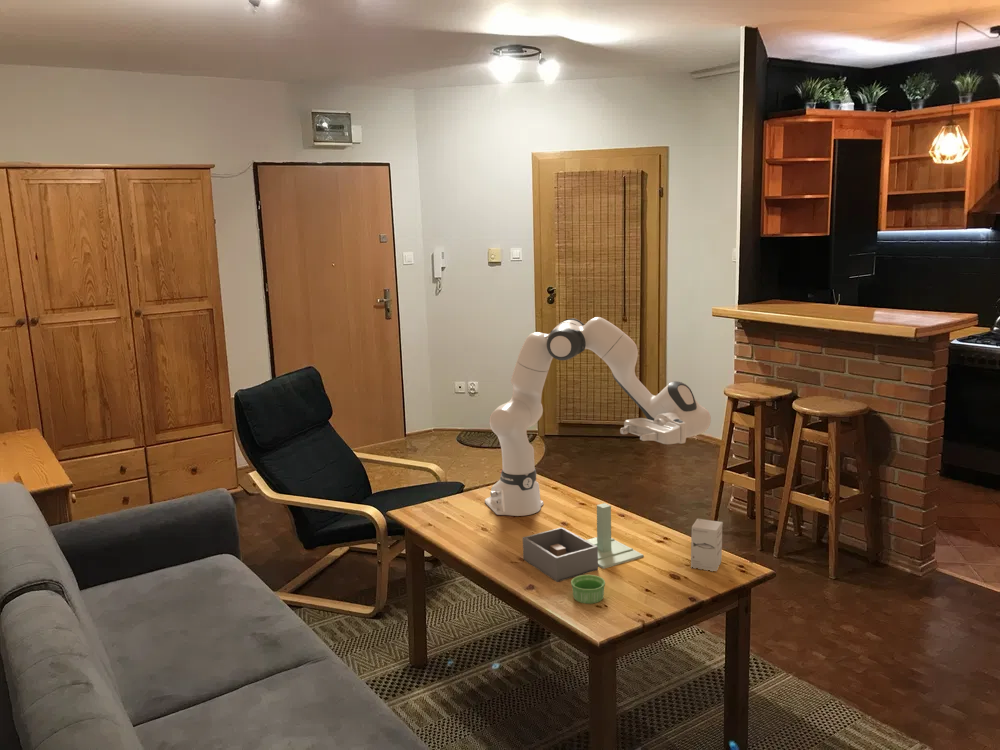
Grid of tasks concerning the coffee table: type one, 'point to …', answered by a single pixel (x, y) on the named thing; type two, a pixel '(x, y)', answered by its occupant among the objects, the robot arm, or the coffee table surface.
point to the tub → (560, 554)
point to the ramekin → (588, 588)
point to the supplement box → (706, 544)
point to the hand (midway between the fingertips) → (631, 434)
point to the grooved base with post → (610, 542)
